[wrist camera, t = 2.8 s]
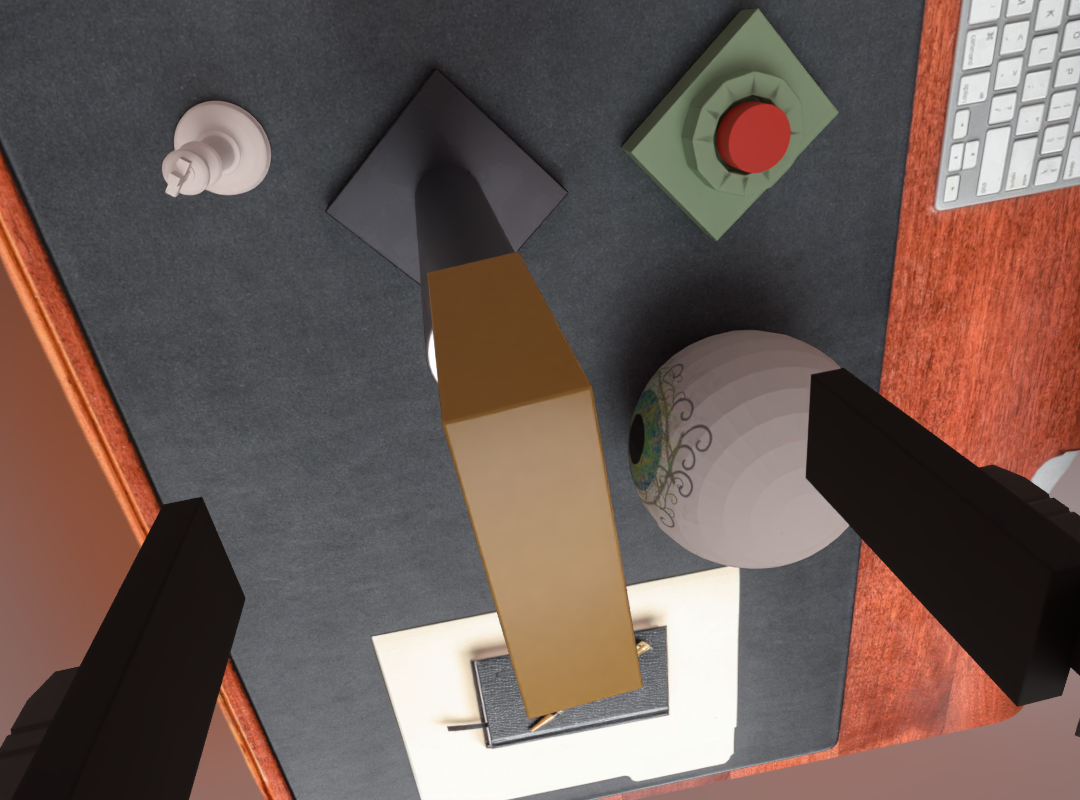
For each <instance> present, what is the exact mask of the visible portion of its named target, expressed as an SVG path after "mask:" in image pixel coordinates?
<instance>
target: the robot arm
mask: <svg viewBox="0 0 1080 800" xmlns="http://www.w3.org/2000/svg"><path fill="white" fill-rule="evenodd" d="M805 478H806V479H807V480H808V481H809V482H810V483H811V484H812V485H813V487H814V488H815V489H816V490H817V491H818V492H819V493H820V494H821V495H822V496H823V497H824V498H825V500H826V501H827V502H828V503H829V504H830V505H831V506H832V507H833V508H834V509H835V510H836V511H837V513H838V514H839V515H840V516H841V517H842V518H843V519H844V520H845V521H846V522H847V523H848V524H849V525H850V527H851V528H852V529H853V530H854V531H855V532H856V533H857V534H858V535H859V536H860V537H861V538H862V540H863V541H864V542H865V543H866V544H867V545H868V546H869V547H870V548H871V549H872V550H873V551H874V552H875V554H876V555H877V556H878V557H879V558H880V559H881V560H882V561H883V562H884V563H885V564H886V565H887V567H888V568H889V569H890V570H891V571H892V572H893V573H894V574H895V575H896V576H897V577H898V578H899V579H900V581H901V582H902V583H903V584H904V585H905V586H906V587H907V588H908V589H909V590H910V591H911V592H912V594H913V595H914V596H915V597H916V598H917V599H918V600H919V601H920V602H921V603H922V604H923V605H924V606H925V608H926V609H927V610H928V611H929V612H930V613H931V614H932V615H933V616H934V617H935V618H936V619H937V621H938V622H939V623H940V624H941V625H942V626H943V627H944V628H945V629H946V630H947V631H948V632H949V634H950V635H951V636H952V637H953V638H954V639H955V640H956V641H957V642H958V643H959V644H960V645H961V646H962V648H963V649H964V650H965V651H966V652H967V653H968V654H969V655H970V656H971V657H972V658H973V659H974V661H975V662H976V663H977V664H978V665H979V666H980V667H981V668H982V669H983V670H984V671H985V672H986V673H987V675H988V676H989V677H990V678H991V679H992V680H993V681H994V682H995V683H996V684H997V685H998V686H999V688H1000V689H1001V690H1002V691H1003V692H1004V693H1005V694H1006V695H1007V696H1008V697H1009V698H1010V699H1011V700H1012V702H1013V703H1014V704H1015V705H1016V706H1017V707H1018V706H1022V705H1026V704H1030V703H1034V702H1038V701H1042V700H1046V699H1050V698H1053V697H1058V696H1061V695H1062V693H1063V690H1064V687H1065V684H1066V680H1067V677H1068V674H1069V671H1070V667H1071V668H1072V669H1073V670H1074V671H1075V672H1076V673H1077V674H1079V675H1080V516H1079V515H1078V514H1076V513H1075V512H1070V511H1069V508H1068V507H1066V506H1065V505H1064V504H1062V503H1060V502H1059V501H1058V500H1056V499H1055V498H1050V497H1049V494H1048V493H1046V492H1045V491H1044V490H1042V489H1041V488H1039V487H1038V486H1036V485H1035V484H1034V483H1032V482H1031V481H1029V480H1028V479H1026V478H1025V477H1023V476H1020V475H1018V474H1015V473H1013V472H1010V471H1008V470H1005V469H1003V468H1000V467H998V466H995V465H989V466H984V467H980V468H979V467H977V466H976V465H975V464H973V463H972V462H970V461H969V460H968V459H966V458H965V457H964V456H962V455H961V454H960V453H958V452H957V451H956V450H954V449H953V448H952V447H950V446H949V445H947V444H946V443H945V442H943V441H942V440H941V439H939V438H938V437H937V436H935V435H934V434H933V433H931V432H930V431H928V430H927V429H926V428H924V427H923V426H922V425H920V424H919V423H918V422H916V421H915V420H914V419H912V418H911V417H910V416H908V415H907V414H905V413H904V412H903V411H901V410H900V409H899V408H897V407H896V406H895V405H893V404H892V403H891V402H889V401H888V400H886V399H885V398H884V397H882V396H881V395H880V394H878V393H877V392H876V391H874V390H873V389H872V388H870V387H869V386H867V385H866V384H865V383H863V382H862V381H861V380H859V379H858V378H857V377H855V376H854V375H853V374H851V373H850V372H849V371H847V370H846V369H844V368H840V369H835V370H831V371H826V372H821V373H816V374H811V383H810V402H809V421H808V440H807V459H806V477H805ZM244 602H245V596H244V594H243V591H242V589H241V587H240V584H239V582H238V580H237V577H236V575H235V573H234V570H233V568H232V566H231V563H230V561H229V559H228V556H227V554H226V552H225V549H224V547H223V545H222V542H221V540H220V538H219V535H218V533H217V531H216V528H215V526H214V524H213V521H212V519H211V517H210V514H209V512H208V510H207V507H206V505H205V503H204V500H203V498H202V497H199V498H194V499H189V500H184V501H179V502H174V503H169V504H164V505H163V506H162V508H161V510H160V512H159V514H158V516H157V518H156V520H155V522H154V524H153V526H152V527H151V529H150V531H149V533H148V535H147V537H146V539H145V541H144V543H143V545H142V547H141V549H140V551H139V553H138V555H137V557H136V558H135V560H134V563H133V564H132V566H131V568H130V570H129V572H128V574H127V576H126V578H125V580H124V582H123V584H122V586H121V588H120V589H119V591H118V594H117V596H116V597H115V599H114V601H113V603H112V605H111V607H110V609H109V611H108V613H107V615H106V617H105V619H104V621H103V623H102V625H101V626H100V628H99V631H98V632H97V634H96V636H95V638H94V640H93V642H92V644H91V646H90V648H89V650H88V652H87V653H86V655H85V657H84V659H83V661H82V663H81V665H80V666H79V667H75V668H70V669H66V670H61V671H56V672H55V673H53V675H52V676H51V677H50V678H49V679H48V680H47V681H46V682H45V683H44V684H43V685H42V686H41V687H40V688H39V689H38V690H37V691H36V692H35V693H34V694H33V695H32V696H31V697H30V698H29V699H28V700H27V702H26V704H25V705H24V707H23V709H22V711H21V712H20V715H19V716H18V718H17V719H16V721H15V723H14V725H13V727H12V728H11V735H8V736H7V737H6V739H5V741H4V742H3V744H2V746H1V748H0V800H189V797H190V794H191V790H192V787H193V783H194V779H195V776H196V772H197V769H198V765H199V761H200V758H201V754H202V751H203V747H204V744H205V741H206V737H207V733H208V730H209V726H210V723H211V719H212V715H213V712H214V708H215V705H216V701H217V698H218V694H219V691H220V687H221V684H222V680H223V677H224V673H225V669H226V666H227V662H228V659H229V655H230V652H231V648H232V645H233V641H234V637H235V634H236V630H237V627H238V623H239V620H240V616H241V613H242V609H243V605H244ZM1075 735H1076V736H1079V737H1080V719H1079V722H1078V725H1077V729H1076V733H1075Z"/></svg>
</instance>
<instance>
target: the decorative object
mask: <svg viewBox="0 0 1080 800" xmlns="http://www.w3.org/2000/svg"><path fill="white" fill-rule="evenodd" d="M835 369H840V367H839V366H838V365H837V364H836V363H835V362H834V361H833V360H832V359H831V358H829V357H828V356H826V355H825V354H824V353H822V352H821V351H820V350H818V349H816V348H814V347H813V346H811V345H809V344H807V343H805V342H803V341H800V340H798V339H795V338H793V337H790V336H788V335H784V334H777V333H771V332H765V331H758V330H739V331H730V332H726V333H722V334H718V335H713V336H710V337H707V338H705V339H703V340H700V341H698V342H696V343H693V344H691V345H689V346H687V347H686V348H684V349H683V350H681V351H680V352H678V353H676V354H675V355H673V356H672V357H671V358H670V359H669V360H668V361H667V362H666V363H665V364H663V365H662V366H661V367H660V368H659V369H658V371H657V372H656V373H655V374H654V376H653V377H652V378H651V380H650V381H649V382H648V384H647V385H646V387H645V389H644V391H643V393H642V395H641V396H640V398H639V400H638V402H637V404H636V406H635V410H634V413H633V416H632V419H631V423H630V431H629V443H628V456H629V463H630V471H631V475H632V478H633V481H634V484H635V486H636V489H637V492H638V494H639V497H640V499H641V502H642V503H643V505H644V506H645V508H646V509H647V510H648V512H649V513H650V514H651V516H652V517H653V519H654V520H655V521H656V523H657V524H658V526H659V527H660V528H661V529H662V530H663V531H664V532H665V533H666V534H668V535H669V536H670V537H671V538H672V539H673V540H675V541H676V542H677V543H679V544H680V545H681V546H683V547H684V548H685V549H686V550H688V551H690V552H692V553H694V554H696V555H698V556H700V557H702V558H705V559H707V560H710V561H713V562H716V563H719V564H723V565H727V566H731V567H739V568H771V567H779V566H783V565H787V564H791V563H795V562H797V561H799V560H802V559H804V558H806V557H809V556H811V555H813V554H814V553H816V552H818V551H819V550H821V549H823V548H824V547H826V546H827V545H829V544H830V543H831V542H832V541H834V540H835V539H836V538H837V537H839V536H840V535H841V534H842V533H843V531H844V530H845V529H846V528H847V527H848V526H849V524H848V523H847V522H846V521H845V520H844V519H843V518H842V517H841V516H840V515H839V514H838V513H837V511H836V510H835V509H834V508H833V507H832V506H831V505H830V504H829V503H828V502H827V501H826V500H825V498H824V497H823V496H822V495H821V494H820V493H819V492H818V491H817V490H816V489H815V488H814V487H813V485H812V484H811V483H810V482H809V481H808V480H807V479H806V478H805V477H806V459H807V440H808V421H809V402H810V383H811V374H816V373H821V372H826V371H831V370H835Z"/></svg>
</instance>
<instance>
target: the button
mask: <svg viewBox="0 0 1080 800" xmlns="http://www.w3.org/2000/svg"><path fill="white" fill-rule="evenodd" d="M790 137H791V128H790V123H789V120H788V118H787V116H786V115H785V113H784V112H783V111H782V110H781V109H780V108H778V107H777V106H775V105H772V104H767V103H761V102H755V101H748V102H743V103H740V104H738V105H736V106H735V107H733V108H732V109H731V110H730V111H729V112H728V113H727V114H726V115H725V116H724V118H723V119H722V121H721V123H720V125H719V128H718V132H717V148H718V151H719V154H720V156H721V158H722V159H723V160H724V161H725V162H726V163H727V164H729V165H730V166H732V167H735V168H737V169H740V170H742V171H745V172H748V173H761V172H764V171H766V170H769V169H770V168H772V167H773V166H775V165H776V164H777V163H778V162H779V161H780V160H781V159H782V157H783V156H784V154H785V153H786V151H787V148H788V146H789V142H790Z"/></svg>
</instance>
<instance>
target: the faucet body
mask: <svg viewBox="0 0 1080 800" xmlns="http://www.w3.org/2000/svg"><path fill="white" fill-rule="evenodd" d="M567 194H568V191H567V190H566V189H565V188H564V187H562V186H561V185H560V184H559V183H558V182H557V181H556V180H555V179H554V178H553V177H552V176H551V175H550V174H549V173H548V172H547V171H545V170H544V169H543V168H542V167H541V166H540V165H539V164H538V163H537V162H536V161H535V160H534V159H533V158H532V157H531V156H530V155H528V154H527V153H526V152H525V151H524V150H523V149H522V148H521V147H520V146H519V145H518V144H517V143H516V142H515V141H514V140H513V139H511V138H510V137H509V136H508V135H507V134H506V133H505V132H504V131H503V130H502V129H501V128H500V127H499V126H498V125H497V124H496V123H494V122H493V121H492V120H491V119H490V118H489V117H488V116H487V115H486V114H485V113H484V112H483V111H482V110H481V109H480V108H479V107H477V106H476V105H475V104H474V103H473V102H472V101H471V100H470V99H469V98H468V97H467V96H466V95H465V94H464V93H463V92H462V91H460V90H459V89H458V88H457V87H456V86H455V85H454V84H453V83H452V82H451V81H450V80H449V79H448V78H447V77H446V76H445V75H443V74H442V73H441V72H440V71H439V70H438V69H437V68H434V69H433V70H432V72H431V73H430V74H429V76H428V77H427V78H426V79H425V81H424V82H423V83H422V85H421V86H420V87H419V88H418V90H417V91H416V92H415V94H414V95H413V96H412V98H411V99H410V100H409V101H408V103H407V104H406V105H405V107H404V108H403V109H402V110H401V112H400V113H399V114H398V116H397V117H396V118H395V119H394V121H393V122H392V123H391V125H390V126H389V127H388V129H387V130H386V131H385V132H384V134H383V135H382V136H381V138H380V139H379V140H378V141H377V143H376V144H375V145H374V147H373V148H372V149H371V151H370V152H369V153H368V154H367V156H366V157H365V158H364V160H363V161H362V162H361V163H360V165H359V166H358V167H357V169H356V170H355V171H354V172H353V174H352V175H351V176H350V178H349V179H348V180H347V182H346V183H345V184H344V185H343V187H342V188H341V189H340V191H339V192H338V193H337V194H336V196H335V197H334V198H333V200H332V201H331V202H330V203H329V205H328V206H327V209H326V211H325V212H326V213H327V214H329V215H330V216H331V217H333V218H334V219H335V220H336V221H338V222H339V223H340V224H342V225H343V226H344V227H346V228H347V229H348V230H349V231H351V232H352V233H353V234H355V235H356V236H357V237H358V238H360V239H361V240H362V241H364V242H365V243H366V244H368V245H369V246H370V247H371V248H373V249H374V250H375V251H377V252H378V253H379V254H381V255H382V256H383V257H384V258H386V259H387V260H388V261H390V262H391V263H392V264H394V265H395V266H396V267H397V268H399V269H400V270H401V271H403V272H404V273H405V274H406V275H408V276H409V277H410V278H412V279H413V280H414V281H416V282H417V283H418V284H419V285H421V295H422V308H423V322H424V335H425V349H426V360H427V365H428V368H429V371H430V373H431V375H432V377H433V379H434V381H435V382H436V384H437V385H438V378H437V368H436V359H435V349H434V339H433V329H432V320H431V310H430V300H429V290H428V281H427V273H429V272H433V271H437V270H442V269H446V268H450V267H455V266H459V265H463V264H467V263H472V262H476V261H480V260H485V259H489V258H493V257H497V256H502V255H506V254H510V253H515V252H517V251H518V250H519V249H520V248H521V247H522V246H523V245H524V243H525V242H526V241H527V240H528V239H529V238H530V236H531V235H532V234H533V233H534V232H535V231H536V230H537V228H538V227H539V226H540V225H541V224H542V223H543V222H544V220H545V219H546V218H547V217H548V216H549V215H550V213H551V212H552V211H553V210H554V209H555V208H556V207H557V205H558V204H559V203H560V202H561V201H562V200H563V199H564V197H565V196H566V195H567Z"/></svg>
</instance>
